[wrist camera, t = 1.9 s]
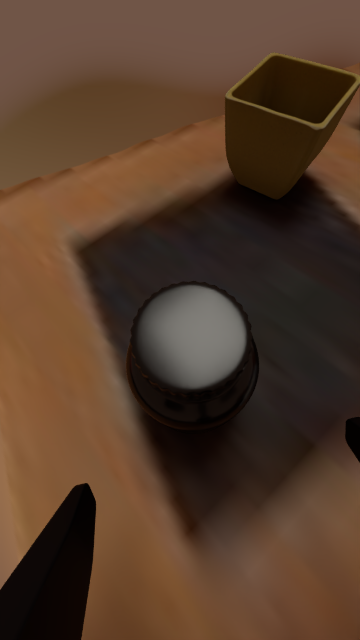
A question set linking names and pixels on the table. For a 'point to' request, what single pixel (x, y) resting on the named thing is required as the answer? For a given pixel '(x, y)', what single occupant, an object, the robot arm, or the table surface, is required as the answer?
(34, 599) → the robot arm
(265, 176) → the flower pot
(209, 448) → the table surface
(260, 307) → the table surface
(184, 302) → the supplement bottle
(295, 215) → the table surface
